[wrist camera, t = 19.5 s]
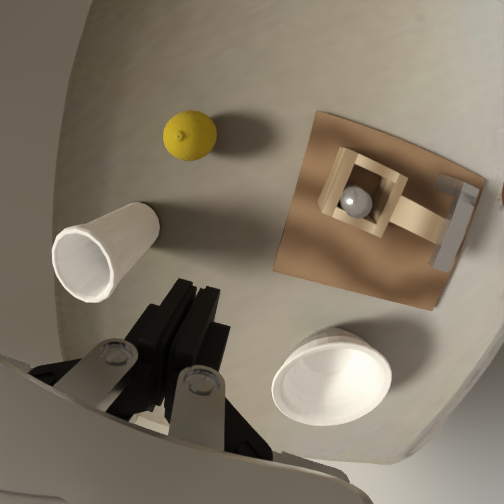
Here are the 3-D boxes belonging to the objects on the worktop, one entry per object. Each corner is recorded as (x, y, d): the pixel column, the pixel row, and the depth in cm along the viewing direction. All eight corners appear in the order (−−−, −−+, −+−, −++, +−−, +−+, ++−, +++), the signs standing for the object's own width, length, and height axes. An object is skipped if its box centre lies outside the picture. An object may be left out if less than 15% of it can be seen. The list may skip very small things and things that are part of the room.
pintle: (337, 175, 34) (348, 186, 28) (359, 183, 34) (376, 194, 28) (330, 198, 35) (340, 214, 29) (352, 205, 35) (366, 222, 29)
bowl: (331, 398, 48) (336, 437, 40) (253, 359, 46) (247, 400, 39) (399, 337, 43) (415, 374, 35) (319, 285, 41) (326, 321, 33)
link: (317, 202, 36) (321, 212, 31) (340, 146, 33) (348, 149, 28) (432, 253, 36) (448, 269, 32) (454, 206, 34) (474, 216, 29)
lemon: (170, 130, 35) (142, 130, 28) (206, 103, 34) (186, 96, 26) (194, 166, 37) (171, 175, 29) (231, 141, 35) (217, 143, 28)
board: (316, 111, 33) (317, 110, 32) (480, 177, 33) (485, 179, 32) (273, 266, 40) (272, 270, 39) (429, 306, 40) (432, 311, 39)
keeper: (437, 172, 32) (464, 181, 26) (452, 179, 32) (479, 189, 26) (411, 246, 36) (432, 267, 30) (426, 251, 36) (447, 272, 30)
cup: (104, 221, 41) (40, 260, 27) (138, 181, 38) (73, 209, 25) (141, 263, 42) (89, 317, 29) (179, 227, 40) (131, 275, 27)
